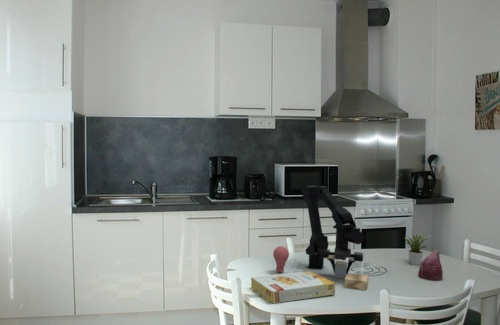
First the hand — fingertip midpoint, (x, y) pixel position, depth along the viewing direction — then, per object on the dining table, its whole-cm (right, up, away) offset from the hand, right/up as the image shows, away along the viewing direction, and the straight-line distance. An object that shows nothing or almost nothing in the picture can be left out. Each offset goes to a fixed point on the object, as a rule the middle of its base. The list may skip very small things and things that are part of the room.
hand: (340, 274), depth 217 cm
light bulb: (-27, 0, +4) cm, 27 cm away
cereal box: (-24, -3, -22) cm, 33 cm away
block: (+4, -2, -13) cm, 13 cm away
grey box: (0, -1, 0) cm, 1 cm away
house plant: (+44, -1, +27) cm, 52 cm away
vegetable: (+41, -3, +3) cm, 41 cm away
